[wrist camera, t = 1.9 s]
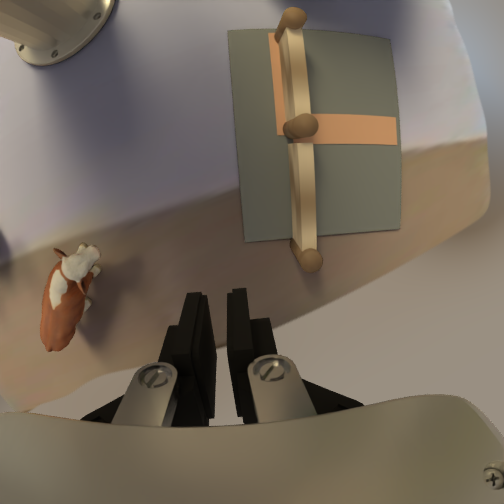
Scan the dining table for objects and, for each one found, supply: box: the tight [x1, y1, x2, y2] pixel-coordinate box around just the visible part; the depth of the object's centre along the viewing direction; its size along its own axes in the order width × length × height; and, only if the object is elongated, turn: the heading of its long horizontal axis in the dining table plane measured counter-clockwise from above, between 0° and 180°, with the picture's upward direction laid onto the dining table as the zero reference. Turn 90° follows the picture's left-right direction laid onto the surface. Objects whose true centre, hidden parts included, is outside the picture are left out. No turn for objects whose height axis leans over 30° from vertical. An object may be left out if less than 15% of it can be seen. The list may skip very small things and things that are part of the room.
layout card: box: [228, 29, 401, 242], centre depth 26 cm, size 20×16×1 cm
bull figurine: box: [40, 243, 101, 352], centre depth 25 cm, size 4×13×8 cm, turn 144°
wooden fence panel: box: [274, 7, 319, 139], centre depth 21 cm, size 11×2×5 cm, turn 4°
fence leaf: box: [288, 143, 323, 273], centre depth 25 cm, size 10×2×5 cm, turn 4°
